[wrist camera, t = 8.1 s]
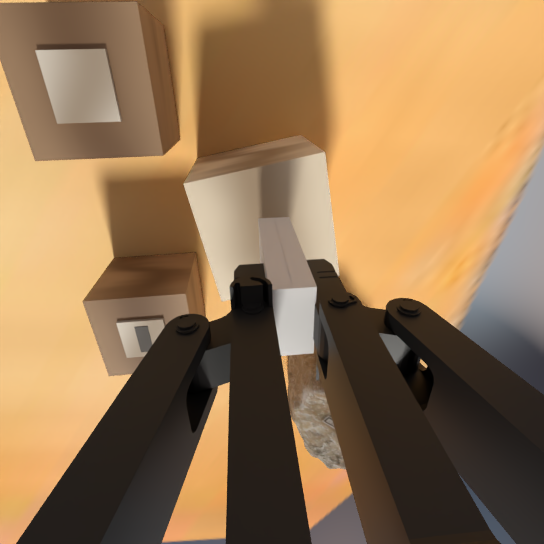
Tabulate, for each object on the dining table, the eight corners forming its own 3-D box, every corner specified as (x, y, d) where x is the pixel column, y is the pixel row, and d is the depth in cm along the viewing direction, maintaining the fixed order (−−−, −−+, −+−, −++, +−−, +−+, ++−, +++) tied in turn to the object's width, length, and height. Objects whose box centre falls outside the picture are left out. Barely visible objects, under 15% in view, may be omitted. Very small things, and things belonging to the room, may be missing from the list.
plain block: (224, 251, 26) (221, 301, 20) (197, 157, 23) (183, 183, 16) (314, 231, 26) (339, 275, 20) (300, 134, 22) (325, 151, 16)
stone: (337, 318, 30) (360, 380, 24) (378, 399, 35) (404, 466, 29) (264, 347, 31) (267, 414, 25) (314, 422, 37) (327, 491, 31)
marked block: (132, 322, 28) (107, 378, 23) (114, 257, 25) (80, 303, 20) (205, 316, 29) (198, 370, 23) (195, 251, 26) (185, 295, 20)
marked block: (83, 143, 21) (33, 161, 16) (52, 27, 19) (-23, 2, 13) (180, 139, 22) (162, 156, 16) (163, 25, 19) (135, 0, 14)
